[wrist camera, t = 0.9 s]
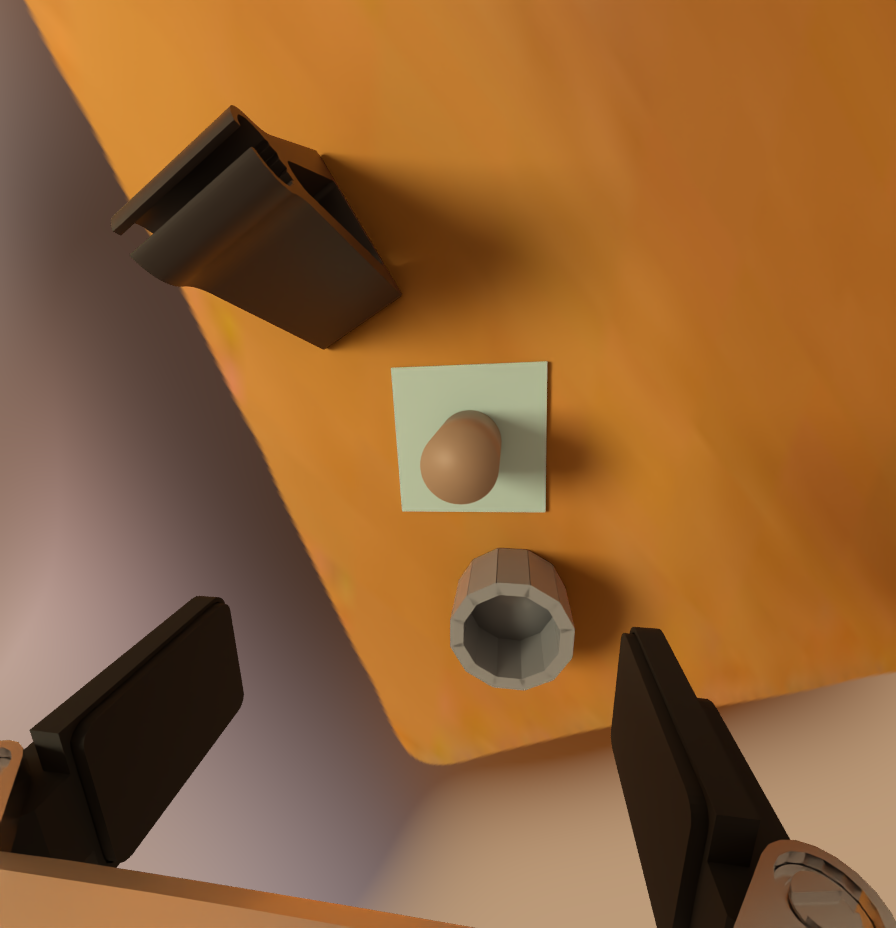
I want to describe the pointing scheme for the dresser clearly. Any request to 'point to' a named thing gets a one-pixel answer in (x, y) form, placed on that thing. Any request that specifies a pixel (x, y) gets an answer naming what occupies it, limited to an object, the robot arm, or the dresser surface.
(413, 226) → the dresser surface
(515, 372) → the lid
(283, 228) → the phone stand
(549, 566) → the cup
